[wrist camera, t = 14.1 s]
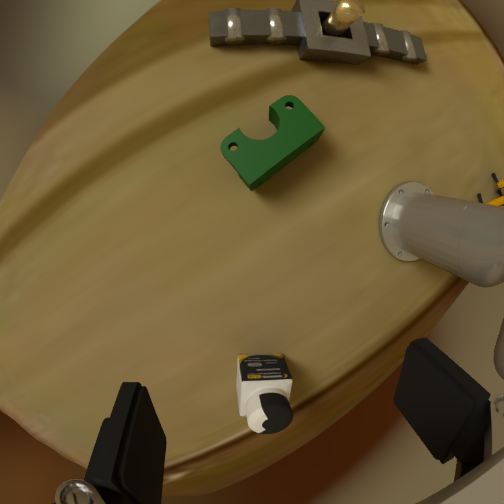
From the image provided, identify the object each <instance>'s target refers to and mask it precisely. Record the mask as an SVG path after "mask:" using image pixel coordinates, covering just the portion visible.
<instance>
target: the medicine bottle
mask: <svg viewBox="0 0 504 504" xmlns="http://www.w3.org/2000/svg"><path fill="white" fill-rule="evenodd" d="M292 382H293V380H292V377H291V375H290V372H289V369H288V367H287V364H286V362H285V359H284V356H283V354H255V355H238V361H237V383H236V389H237V397H238V405H239V413H240V416H247V421H248V426H249V427H250V428H251V429H252V430H253V431H255V432H257V433H261V434H273V433H277V432H280V431H282V430H283V429H285V428H286V427H287V426H288V425H289V424H290V423H291V421H292V419H293V413H292V410H291V407H290V404H289V398H290V393H291V388H292Z"/></svg>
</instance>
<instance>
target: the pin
mask: <svg viewBox="0 0 504 504" xmlns="http://www.w3.org/2000/svg"><path fill="white" fill-rule="evenodd" d="M364 12H365V7H364V5H363V4H362V3H361V2H360V1H359V0H341V2H340V3H339V4H338V5H337V6H336V8H335V9H334V10H333V11H332V13H331V14H330V15H329V16H328V18H327V19H326V20H325V21H324V23H323V24H322V25H321V27H322V32H323V35H325V36H333V37H339V36H340V35H341V34H342V33H343V32H345V31H346V30H347V29H348V28H349V27H350V26H351V25H352V24H353V23H354V22H355V21H356V20H357V19H358V18H359V17H360V16H361V15H362V14H363V13H364Z"/></svg>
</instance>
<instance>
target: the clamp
mask: <svg viewBox="0 0 504 504" xmlns="http://www.w3.org/2000/svg"><path fill="white" fill-rule="evenodd" d="M287 106H290V107H292V108H293V109H291V110H289V109H287V108H286V107H287ZM269 121H271V122H272V123H273V124H274V125H275V127H276V128H277V132H276V133H275V134H274V135H273V136H272V137H270V138H268V139H265V140H253V139H250V138H248V137H246V136H245V135H244V134H243V133H242V132H241V131H240V129H239V128H238V129H237V130H235V131H234V132H233V133H231V134H230V135H229V136H227V137H226V138H225V139H224V140H223V141H222V143H221V152H222V154H223V156H224V157H225V158H226V159H227V161H228V162H229V163H230V164H231V165H232V166H233V168H234V169H235V170H236V171H237V172H238V174H239V176H240V178H241V179H242V181H243V182H244V183H245V184H246V185H247V187H248V188H249V189H250V190H251V191H252V190H254V189H256V188H257V187H258V186H260V185H261V184H262V183H264V182H265V181H266V180H267V179H269V178H270V177H271V176H273V175H274V174H275V173H276V172H278V171H279V170H280V169H282V168H283V167H284V166H285V165H287V164H288V163H289V162H291V161H292V160H293V159H295V158H296V157H297V156H299V155H300V154H301V153H303V152H304V151H305V150H307V149H308V148H309V147H311V146H312V145H313V144H314V143H315V142H316V141H317V140H318V139H319V137H320V136H321V134H322V132H323V131H324V129H325V127H324V126H323V124H322V123H321V122H320V121H319V120H318V119H317V118H316V117H315V116H314V115H313V113H312V112H311V111H310V110H309V109H308V108H307V107H306V106H305V105H304V104H303V103H302V102H301V101H300V100H299V99H298V98H297V97H295V96H292V95H287V96H284V97H282V98H280V99H279V100H277V101H276V102H274V103H273V104H272V105H270V106H269ZM232 146H237V147H238V149H237V150H236V151H230V147H232Z"/></svg>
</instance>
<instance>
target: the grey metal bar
mask: <svg viewBox="0 0 504 504" xmlns="http://www.w3.org/2000/svg"><path fill="white" fill-rule="evenodd" d="M339 3H340V2H334V1H328V0H296V2H295V4H294V6H293V8H292V12H290V11H282V10H281V9H278V8H269V9H266V10H240V9H238V8H229V9H226V10H224V11H216V12H209V27H210V45H211V46H223V45H243V44H283V45H298V51H299V58H300V59H306V60H320V61H331V62H340V63H348V64H356V65H359V64H360V63H362V62H363V61H365V60H366V59H368V58H369V57H371V54H373V55H378V56H383V57H387V58H392V59H396V60H400V61H404V62H408V63H412V64H416V65H417V64H419V63H421V62H424V61H426V60H427V59H426V55H425V51H424V47H423V44H422V40H421V38H420V37H417V36H414V35H411V34H410V32H408V31H398V30H394V29H390V28H387V27H383V25H382V24H380V23H366V22H363V20H362V16H360V17H359V18H358V19H357V20H356V21H355V22H354V23H353V24H352V25H351V26H350V27H349V28H348V29H347V30H346V31H345V32H343V33H342V34H341V35H340V36H339V37H333V36H325V35H323V32H322V27H321V24H323V23H324V21H325V20H326V19H327V18H328V16H329V15H330V14H331V13H332V11H333V10H334V9H335V8H336V6H337V5H338V4H339Z"/></svg>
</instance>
